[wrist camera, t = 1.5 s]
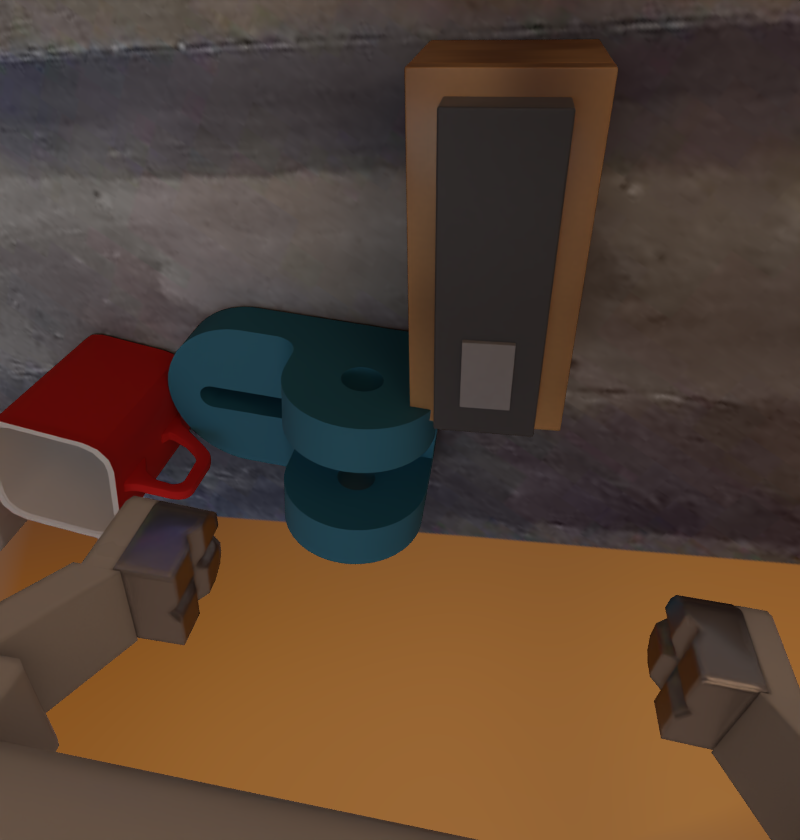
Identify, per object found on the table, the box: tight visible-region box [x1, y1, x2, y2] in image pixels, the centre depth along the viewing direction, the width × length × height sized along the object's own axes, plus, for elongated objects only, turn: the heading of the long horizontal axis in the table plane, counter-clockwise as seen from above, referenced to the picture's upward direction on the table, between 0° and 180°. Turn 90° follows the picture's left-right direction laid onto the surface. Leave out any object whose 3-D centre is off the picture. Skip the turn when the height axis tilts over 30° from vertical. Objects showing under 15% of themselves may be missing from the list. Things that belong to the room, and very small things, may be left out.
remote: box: [433, 96, 576, 437], centre depth 28 cm, size 5×15×2 cm, turn 1°
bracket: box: [168, 307, 438, 564], centre depth 40 cm, size 18×10×10 cm, turn 85°
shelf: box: [404, 39, 618, 431], centre depth 32 cm, size 8×17×8 cm, turn 1°
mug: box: [0, 335, 211, 538], centre depth 43 cm, size 12×8×11 cm
